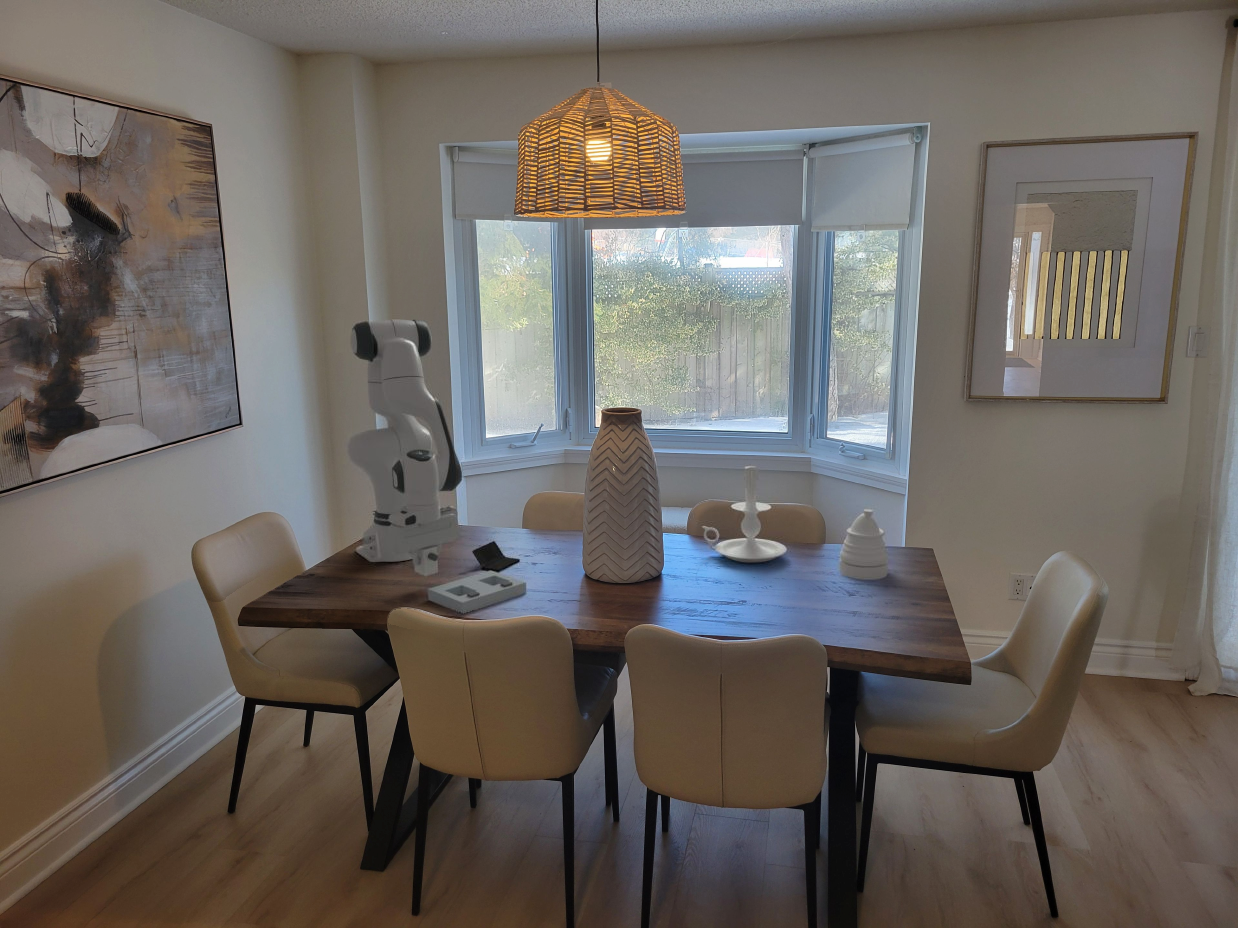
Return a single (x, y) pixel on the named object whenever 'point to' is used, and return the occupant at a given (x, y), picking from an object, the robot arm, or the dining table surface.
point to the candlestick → (748, 529)
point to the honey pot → (864, 550)
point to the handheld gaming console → (493, 558)
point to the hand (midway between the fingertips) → (425, 562)
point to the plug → (427, 561)
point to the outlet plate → (477, 591)
